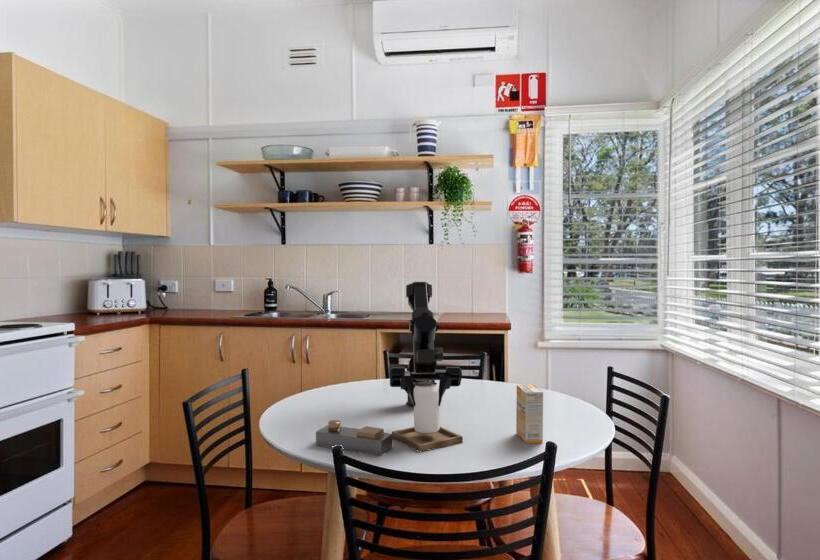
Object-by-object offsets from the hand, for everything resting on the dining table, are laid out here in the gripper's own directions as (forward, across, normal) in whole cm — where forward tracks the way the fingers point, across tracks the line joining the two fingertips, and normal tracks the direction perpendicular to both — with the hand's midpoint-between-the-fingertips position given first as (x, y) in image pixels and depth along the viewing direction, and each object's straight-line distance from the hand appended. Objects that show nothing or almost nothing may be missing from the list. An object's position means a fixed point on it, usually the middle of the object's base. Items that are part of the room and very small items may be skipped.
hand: (427, 405), depth 134 cm
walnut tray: (+6, 0, +7) cm, 9 cm away
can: (+4, 0, +6) cm, 7 cm away
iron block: (+9, -18, +4) cm, 21 cm away
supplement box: (+6, +26, +8) cm, 28 cm away
